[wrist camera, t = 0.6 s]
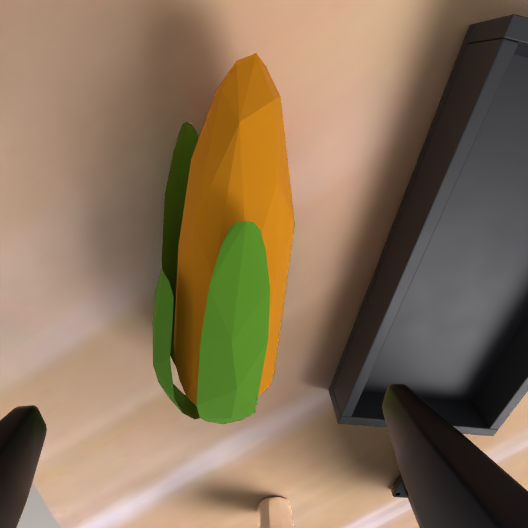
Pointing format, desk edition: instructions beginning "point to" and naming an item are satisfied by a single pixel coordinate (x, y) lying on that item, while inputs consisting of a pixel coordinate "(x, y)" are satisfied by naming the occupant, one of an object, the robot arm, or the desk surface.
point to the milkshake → (274, 513)
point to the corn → (225, 251)
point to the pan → (455, 255)
